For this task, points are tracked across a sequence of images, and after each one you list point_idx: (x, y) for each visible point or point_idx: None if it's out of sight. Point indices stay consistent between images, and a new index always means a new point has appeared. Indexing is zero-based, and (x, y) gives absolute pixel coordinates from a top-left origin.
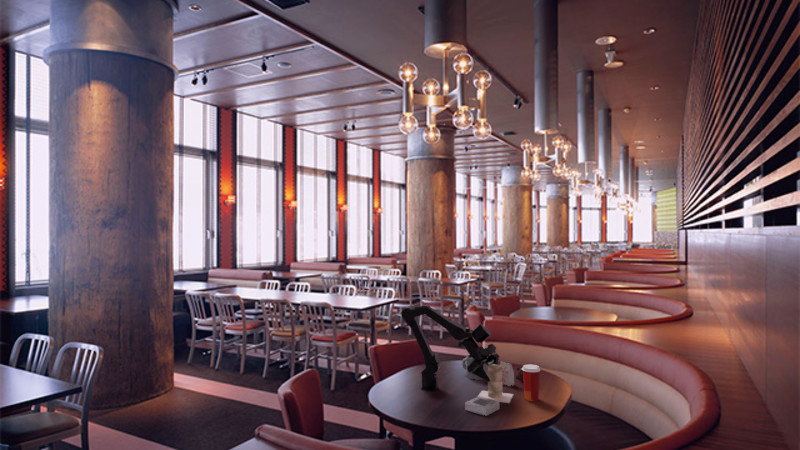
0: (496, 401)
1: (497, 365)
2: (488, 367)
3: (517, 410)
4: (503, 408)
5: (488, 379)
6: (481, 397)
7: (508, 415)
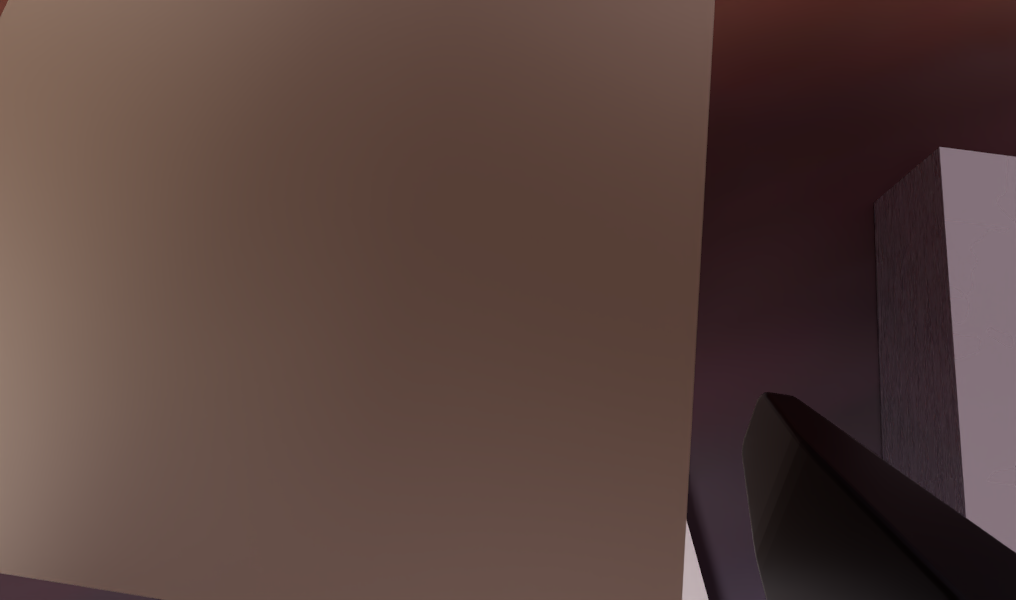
0: (970, 183)
1: (101, 86)
2: (661, 570)
3: (765, 15)
4: (819, 168)
5: (825, 430)
6: (997, 490)
7: (984, 44)
